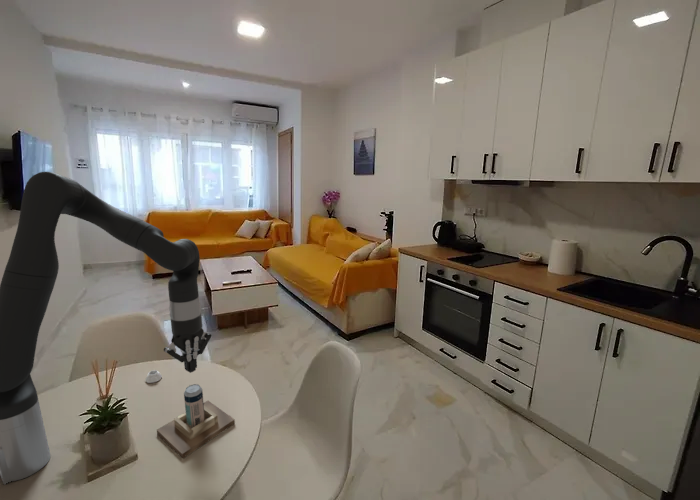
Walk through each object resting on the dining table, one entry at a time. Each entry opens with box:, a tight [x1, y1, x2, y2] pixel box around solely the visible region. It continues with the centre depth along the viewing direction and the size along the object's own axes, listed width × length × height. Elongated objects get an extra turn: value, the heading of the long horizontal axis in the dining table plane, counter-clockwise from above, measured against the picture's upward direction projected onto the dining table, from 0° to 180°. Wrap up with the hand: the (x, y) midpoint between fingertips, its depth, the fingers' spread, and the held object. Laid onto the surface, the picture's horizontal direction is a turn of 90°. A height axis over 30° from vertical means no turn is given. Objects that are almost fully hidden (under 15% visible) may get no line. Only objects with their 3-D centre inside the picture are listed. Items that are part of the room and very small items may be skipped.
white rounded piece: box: [145, 369, 162, 384], centre depth 122 cm, size 5×3×5 cm
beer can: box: [183, 384, 205, 429], centre depth 98 cm, size 5×5×12 cm
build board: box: [156, 400, 236, 459], centre depth 99 cm, size 16×14×4 cm
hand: (191, 370), depth 95 cm, fingers closed
